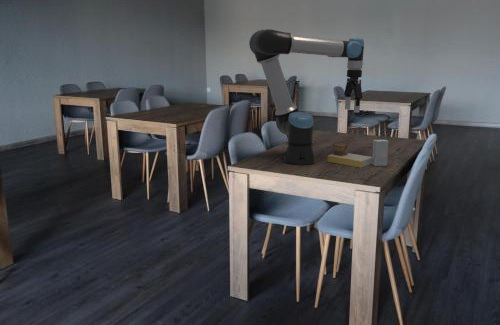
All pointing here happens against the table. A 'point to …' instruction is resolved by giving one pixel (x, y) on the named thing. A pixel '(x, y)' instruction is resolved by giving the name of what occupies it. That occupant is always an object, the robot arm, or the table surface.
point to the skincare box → (380, 152)
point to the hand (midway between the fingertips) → (351, 110)
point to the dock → (351, 160)
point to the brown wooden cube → (340, 149)
